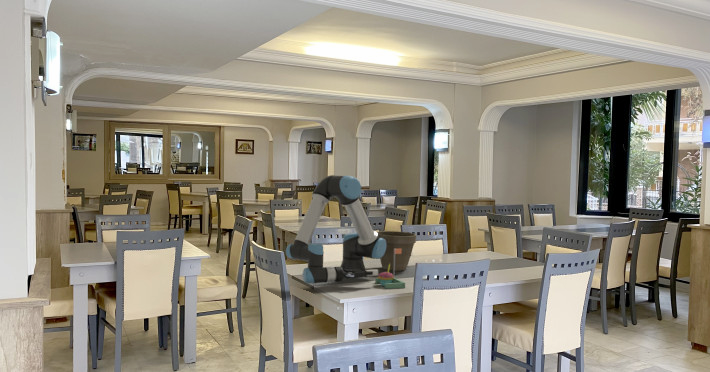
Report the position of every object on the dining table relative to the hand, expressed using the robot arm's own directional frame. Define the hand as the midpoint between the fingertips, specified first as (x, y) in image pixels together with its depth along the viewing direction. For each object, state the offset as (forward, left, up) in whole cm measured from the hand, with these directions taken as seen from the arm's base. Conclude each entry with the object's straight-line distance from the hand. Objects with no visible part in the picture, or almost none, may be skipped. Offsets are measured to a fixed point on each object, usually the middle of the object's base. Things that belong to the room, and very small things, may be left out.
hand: (377, 272), depth 289 cm
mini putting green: (+9, +4, -7) cm, 12 cm away
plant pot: (+11, +51, -7) cm, 53 cm away
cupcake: (+4, +2, -7) cm, 9 cm away
